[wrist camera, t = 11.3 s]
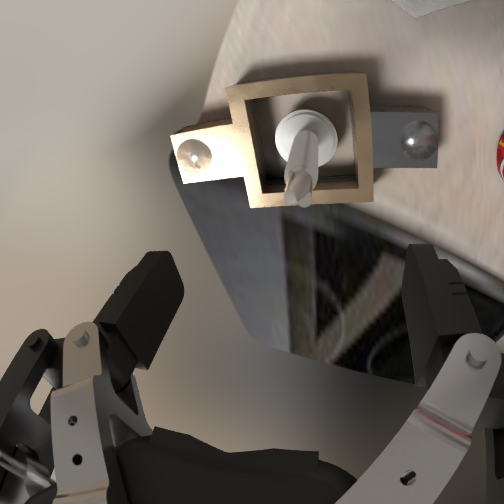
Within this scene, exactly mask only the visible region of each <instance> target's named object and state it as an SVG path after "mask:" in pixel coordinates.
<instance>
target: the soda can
mask: <svg viewBox="0 0 504 504" xmlns="http://www.w3.org/2000/svg"><path fill="white" fill-rule="evenodd" d="M497 167H498V171H499V174H500V176H501V178H502V180H503V181H504V134H503V136H502V138H501V140H500V143H499V146H498V150H497Z"/></svg>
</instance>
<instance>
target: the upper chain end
mask: <svg viewBox="0 0 504 504" xmlns="http://www.w3.org/2000/svg"><path fill="white" fill-rule="evenodd" d="M225 89H226V93H227V98H228V103H229V107H230V112H231V117H232V118H229V119H223V120H218V121H212V122H207V123H201V124H196V125H191V126H187V127H184V128H182V129H180V130H179V131H177V132H175V133H174V134H172V135H171V140H172V143H173V147H174V151H175V154H176V158H177V162H178V165H179V169H180V172H181V176H182V179H183V183H191V182H198V181H206V180H214V179H223V178H232V177H241V176H244V179H245V184H246V189H247V194H248V198H249V203H250V208H257V207H272V206H289V205H299V204H298V203H297V202H296V203H291V204H286V203H285V201H284V193H285V189H286V185H280V186H267V187H265V184H264V178H263V173H262V167H261V162H260V156H259V151H258V145H257V140H256V135H255V129H254V124H253V119H252V114H251V109H250V103H249V99H255V98H262V97H270V96H278V95H287V94H296V93H307V92H320V91H337V90H350V96H351V105H352V115H353V127H354V139H355V155H356V175H357V181H354V182H330V183H316V186H315V188H314V189H313V190H312V201H311V204H328V203H354V202H373V149H372V129H371V115H370V103H369V92H368V83H367V74H366V73H338V74H321V75H308V76H297V77H288V78H279V79H272V80H264V81H258V82H251V83H245V84H239V85H234V86H229V87H227V88H225Z"/></svg>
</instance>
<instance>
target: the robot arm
mask: <svg viewBox="0 0 504 504" xmlns="http://www.w3.org/2000/svg"><path fill="white" fill-rule="evenodd" d="M183 297H184V285H183V282H182V280H181V277H180V275H179V272H178V270H177V267H176V265H175V262H174V260H173V257H172V255H171V253H170V252H168V251H149V252H147V253H146V254H145V256H144V257H143V258H142V260H141V261H140V262H139V264H138V265H137V266H136V267H134V268H133V269H132V270H131V271H130V272H128V273H127V274H126V275H125V277H124V278H123V279H122V281H121V282H120V285H119V286H117V288H116V289H115V291H114V294H112V295H111V296H110V298H109V299H108V301H107V302H106V303H105V305H104V306H103V308H102V309H101V311H100V312H99V314H98V315H97V317H96V318H95V319H94V321H93V322H84V323H81V324H79V325H77V326H75V327H74V328H73V329H72V330H71V331H70V332H69V333H68V334H67V336H66V338H60V339H53V337H52V336H51V335H50V334H49V333H48V331H47V330H45V329H39V330H36V331H34V332H33V333H32V334H30V335H29V336H28V337H27V339H26V340H25V341H24V343H23V345H22V346H21V348H20V349H19V351H18V352H17V354H16V355H15V357H14V359H13V360H12V362H11V364H10V365H9V367H8V369H7V370H6V372H5V374H4V375H3V377H2V379H1V381H0V504H433V503H434V501H435V500H436V498H437V497H438V496H439V494H440V493H441V491H442V490H443V489H444V487H445V486H446V484H447V483H448V481H449V479H450V478H451V476H452V475H453V473H454V472H455V470H456V469H457V467H458V465H459V463H460V462H461V460H462V459H463V457H464V455H465V453H466V452H467V450H468V448H469V446H470V443H471V440H472V437H471V436H470V434H471V432H472V429H473V427H474V426H479V427H485V439H486V467H487V468H486V502H485V504H504V354H502V353H500V350H499V348H498V346H497V345H496V343H495V342H494V341H493V340H492V339H490V338H489V337H487V336H485V335H483V334H482V332H481V329H480V326H479V324H478V321H477V318H476V315H475V312H474V310H473V307H472V304H471V302H470V299H469V297H468V295H467V292H466V289H465V287H464V284H462V279H461V277H460V275H459V273H458V270H457V269H456V268H455V267H454V266H453V265H452V264H451V263H450V262H449V261H448V260H447V259H438V256H437V254H436V252H435V249H434V247H433V245H432V244H431V243H430V244H409V245H408V248H407V255H406V262H405V269H404V275H403V281H402V300H403V306H404V311H405V316H406V321H407V327H408V333H409V339H410V345H411V352H412V359H413V367H414V375H415V384H416V387H420V386H427V393H426V395H425V396H424V398H423V399H422V401H421V403H420V404H419V405H418V407H416V409H415V410H414V411H413V413H412V414H411V416H410V417H409V418H408V420H407V421H406V422H405V424H404V425H403V427H402V428H401V429H400V431H399V432H398V433H397V435H396V436H395V437H394V439H393V440H392V441H391V442H390V444H389V445H388V446H387V448H386V449H385V450H384V451H383V452H382V453H381V455H380V456H379V457H378V458H377V459H376V460H375V462H374V463H373V464H372V465H371V466H370V467H369V469H368V470H367V471H366V472H365V473H364V474H363V475H362V476H361V477H360V478H359V479H358V480H357V479H356V478H355V477H353V476H352V475H351V474H349V473H348V472H347V471H345V470H343V469H341V468H340V467H338V466H335V465H333V464H331V463H328V462H324V461H321V460H319V452H318V451H298V450H285V449H267V450H257V451H246V452H235V453H234V452H233V453H228V452H224V451H222V450H219V449H217V448H215V447H213V446H211V445H208V444H207V443H204V442H202V441H200V440H198V439H196V438H194V437H192V436H191V435H188V434H183V433H179V432H175V431H171V430H167V429H163V428H159V427H156V426H155V427H154V430H153V431H152V429H151V428H150V426H149V425H148V423H147V420H146V418H145V414H144V410H143V406H142V403H141V399H140V395H139V390H138V386H137V382H136V378H135V376H134V375H133V371H134V369H135V368H139V369H143V370H148V369H149V367H150V365H151V363H152V361H153V358H154V356H155V354H156V352H157V350H158V348H159V346H160V344H161V342H162V340H163V338H164V336H165V334H166V332H167V330H168V328H169V326H170V324H171V322H172V320H173V318H174V316H175V314H176V312H177V310H178V308H179V306H180V304H181V302H182V300H183ZM42 376H43V377H44V378H45V379H46V380H47V381H48V382H49V383H50V384H51V385H52V386H53V388H52V389H51V391H50V394H49V395H48V397H47V399H46V401H45V403H44V405H43V407H42V409H41V412H40V413H39V415H37V414H36V413H35V412H33V411H32V409H31V407H30V398H31V396H32V394H33V393H34V391H35V389H36V387H37V385H38V383H39V381H40V380H41V378H42ZM16 445H17V446H16ZM54 467H55V475H56V482H55V481H54V480H53V479H51V478H50V477H51V475H52V472H53V469H54Z"/></svg>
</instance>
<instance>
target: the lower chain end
mask: <svg viewBox="0 0 504 504" xmlns="http://www.w3.org/2000/svg"><path fill="white" fill-rule="evenodd" d="M343 73H362V72H343ZM324 74H338V73H324ZM311 75H321V74H311ZM300 76H308V75H300ZM290 77H297V76H290ZM281 78H288V77H281ZM273 79H279V78H273ZM266 80H272V79H266ZM259 81H264V80H259ZM253 82H258V81H253ZM247 83H251V82H247ZM241 84H245V83H241ZM235 85H239V84H235ZM232 86H234V85H232ZM348 93H349V102H350V112H351V122H352V134H353V148H354V165H355V175H338V176H318V180H317V183H330V182H354V181H357V175H356V155H355V139H354V127H353V115H352V105H351V96H350V90H348ZM249 103H250V109H251V114H252V119H253V124H254V129H255V135H256V140H257V145H258V151H259V156H260V162H261V167H262V173H263V178H264V184H265V187H267V186H280V185H286V183H285V180H284V179H274V180H268V179H267V173H266V167H265V162H264V156H263V151H262V145H261V140H260V134H259V129H258V123H257V118H256V113H255V107H254V102H253V99H249ZM370 115H371V129H372V149H373V168H437V158H438V113H436V112H434V111H432V110H430V109H428V108H426V107H413V106H370Z"/></svg>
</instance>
